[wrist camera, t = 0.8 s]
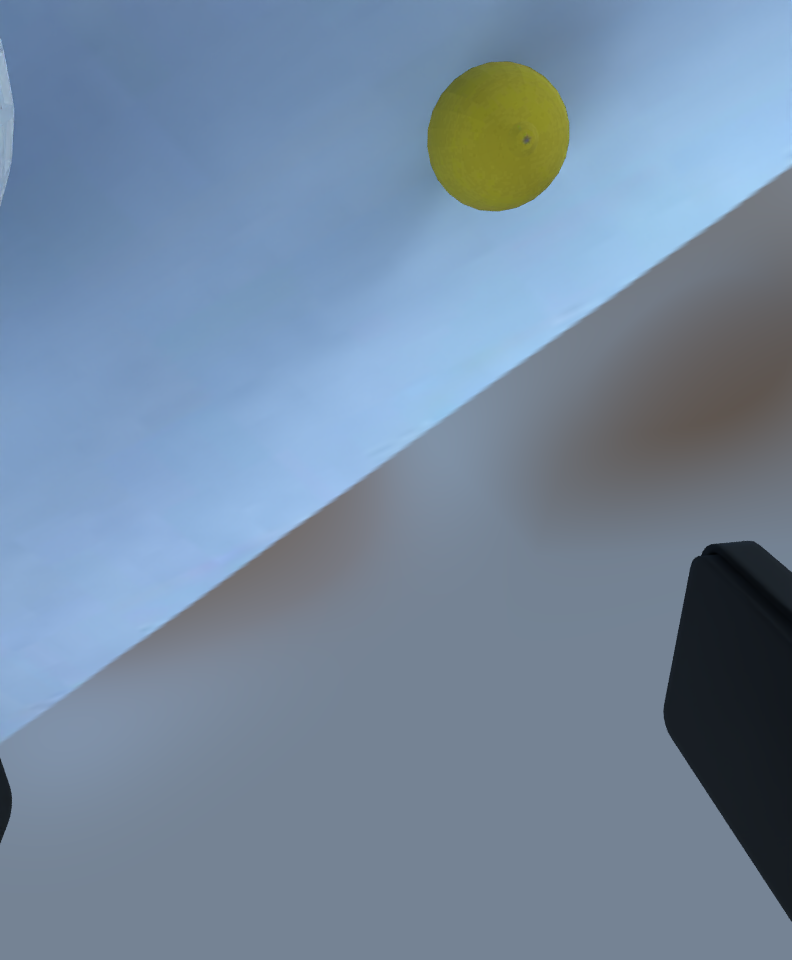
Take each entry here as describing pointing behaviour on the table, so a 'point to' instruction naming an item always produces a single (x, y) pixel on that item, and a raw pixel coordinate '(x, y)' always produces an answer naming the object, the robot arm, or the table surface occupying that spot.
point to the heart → (5, 123)
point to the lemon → (498, 136)
